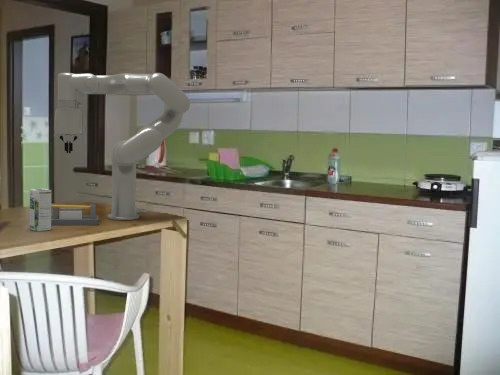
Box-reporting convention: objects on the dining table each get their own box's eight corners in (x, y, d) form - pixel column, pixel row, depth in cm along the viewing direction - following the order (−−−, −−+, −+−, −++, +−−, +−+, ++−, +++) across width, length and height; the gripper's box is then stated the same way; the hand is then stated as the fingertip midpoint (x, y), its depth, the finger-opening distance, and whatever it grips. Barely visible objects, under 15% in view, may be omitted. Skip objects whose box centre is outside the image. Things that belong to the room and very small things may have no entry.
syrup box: (28, 229, 190) (28, 188, 189) (45, 227, 194) (45, 187, 193) (35, 231, 186) (35, 190, 185) (52, 230, 190) (52, 189, 189)
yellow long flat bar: (94, 208, 208) (94, 205, 208) (94, 209, 205) (94, 206, 205) (52, 207, 204) (52, 204, 204) (51, 208, 201) (51, 205, 201)
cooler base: (98, 220, 213) (98, 202, 212) (98, 225, 203) (98, 206, 202) (50, 220, 208) (50, 202, 207) (47, 225, 198) (47, 206, 197)
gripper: (88, 106, 213) (88, 152, 215) (47, 105, 208) (48, 152, 210) (88, 106, 206) (88, 153, 208) (47, 104, 201) (47, 153, 203)
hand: (68, 152), depth 209 cm, fingers closed
